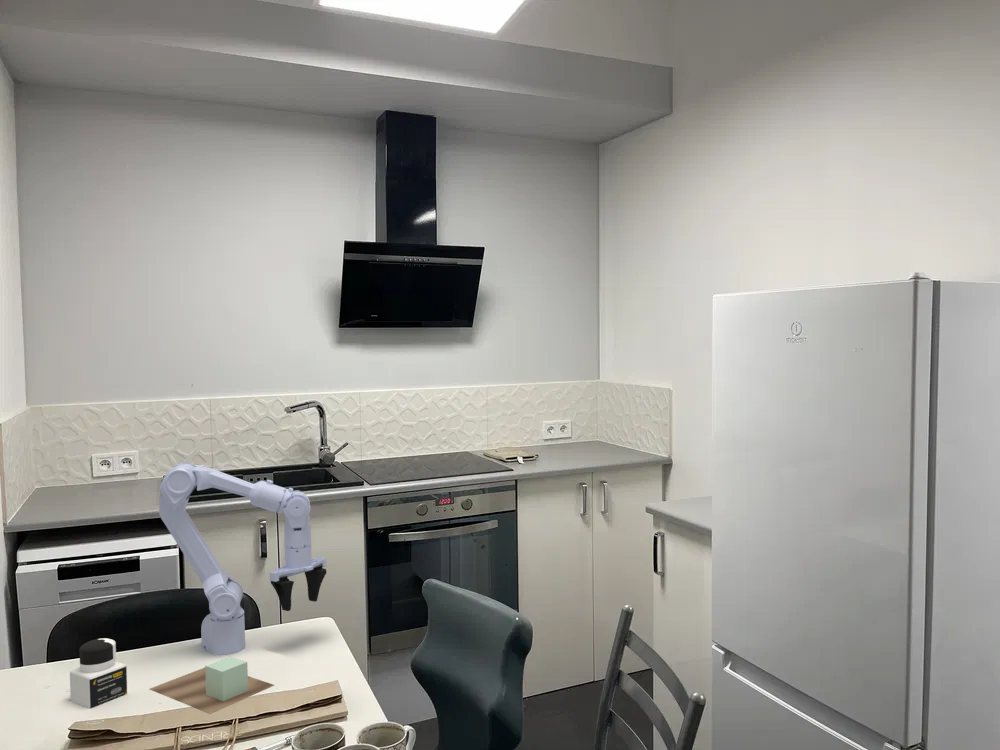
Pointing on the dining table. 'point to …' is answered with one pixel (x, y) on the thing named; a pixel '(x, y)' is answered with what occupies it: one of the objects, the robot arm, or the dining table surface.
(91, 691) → the medicine bottle
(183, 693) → the base board
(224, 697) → the mint green cube
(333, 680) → the dining table surface
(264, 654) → the dining table surface
